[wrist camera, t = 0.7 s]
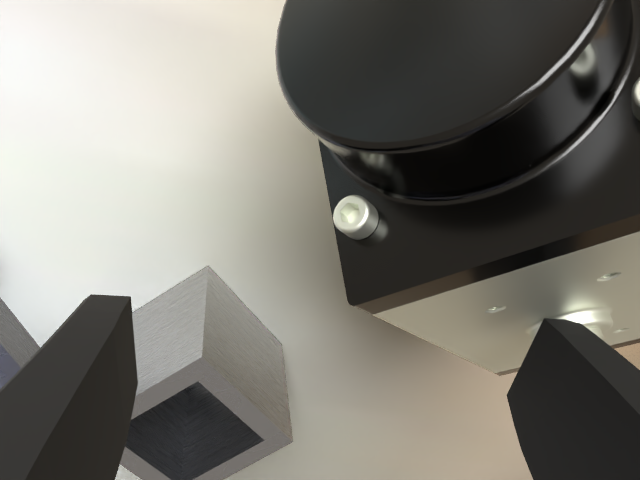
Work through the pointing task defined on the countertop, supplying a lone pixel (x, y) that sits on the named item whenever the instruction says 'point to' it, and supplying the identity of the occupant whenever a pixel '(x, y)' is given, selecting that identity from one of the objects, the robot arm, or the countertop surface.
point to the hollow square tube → (204, 385)
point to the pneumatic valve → (477, 162)
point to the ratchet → (13, 345)
